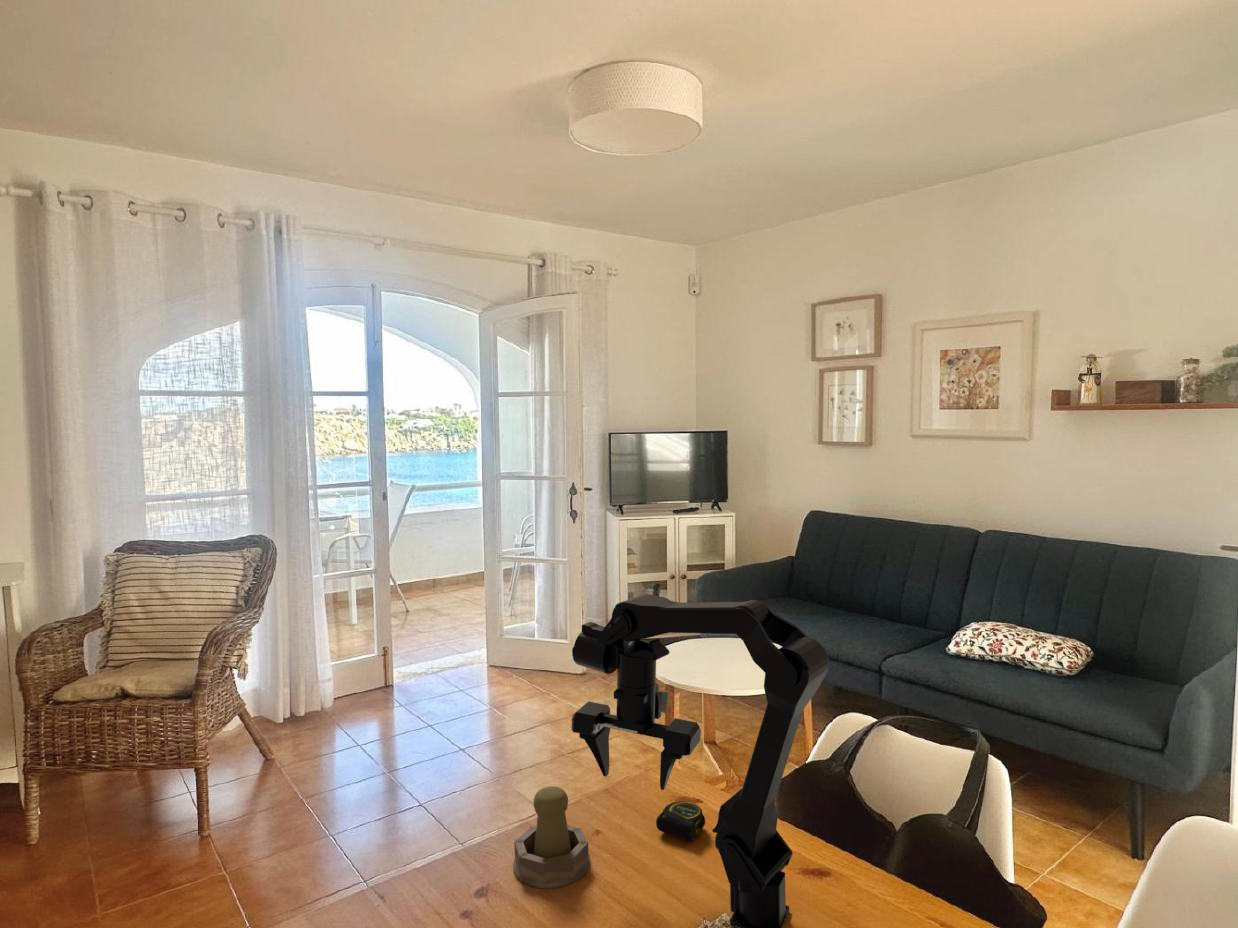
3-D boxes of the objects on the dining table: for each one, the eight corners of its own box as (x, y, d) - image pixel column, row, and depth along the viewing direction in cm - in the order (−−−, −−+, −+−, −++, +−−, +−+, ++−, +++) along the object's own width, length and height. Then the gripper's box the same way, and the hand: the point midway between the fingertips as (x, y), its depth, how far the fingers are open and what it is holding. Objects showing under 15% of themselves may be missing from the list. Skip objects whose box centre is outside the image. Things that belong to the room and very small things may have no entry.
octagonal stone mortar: (603, 853, 117) (602, 831, 117) (564, 896, 107) (563, 872, 107) (540, 836, 123) (540, 815, 122) (497, 875, 112) (497, 852, 112)
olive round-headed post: (574, 870, 112) (572, 798, 112) (533, 875, 111) (531, 802, 111) (571, 847, 118) (568, 779, 118) (532, 852, 117) (529, 783, 117)
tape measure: (654, 835, 123) (653, 813, 122) (676, 816, 128) (676, 795, 128) (690, 849, 119) (690, 826, 118) (712, 828, 124) (711, 806, 124)
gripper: (712, 673, 116) (709, 770, 117) (601, 654, 123) (599, 746, 124) (690, 699, 105) (687, 806, 107) (570, 677, 113) (569, 777, 114)
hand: (634, 781), depth 113 cm, fingers open, 9 cm apart
